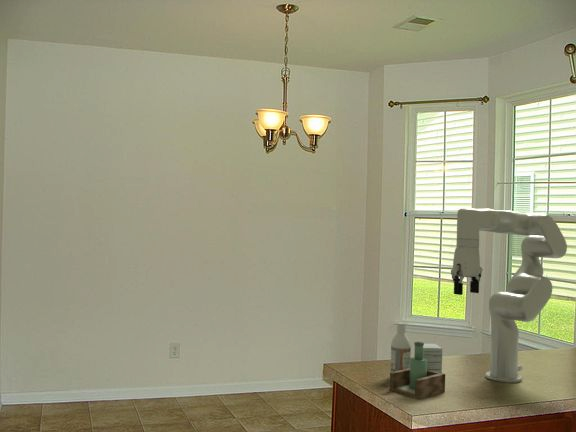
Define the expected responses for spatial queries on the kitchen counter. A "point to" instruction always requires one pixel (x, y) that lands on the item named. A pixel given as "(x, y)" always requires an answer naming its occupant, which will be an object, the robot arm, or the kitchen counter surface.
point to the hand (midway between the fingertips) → (466, 293)
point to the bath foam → (400, 349)
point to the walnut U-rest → (417, 384)
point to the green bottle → (417, 365)
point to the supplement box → (433, 357)
